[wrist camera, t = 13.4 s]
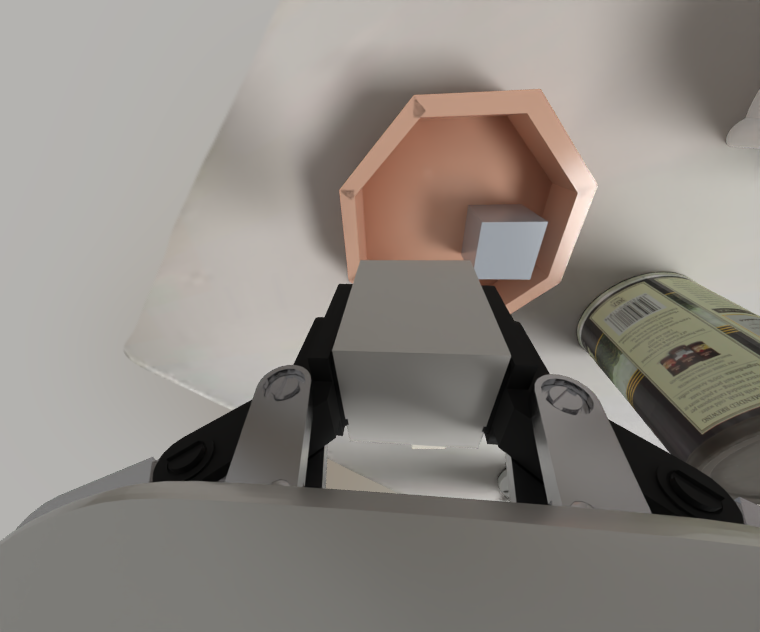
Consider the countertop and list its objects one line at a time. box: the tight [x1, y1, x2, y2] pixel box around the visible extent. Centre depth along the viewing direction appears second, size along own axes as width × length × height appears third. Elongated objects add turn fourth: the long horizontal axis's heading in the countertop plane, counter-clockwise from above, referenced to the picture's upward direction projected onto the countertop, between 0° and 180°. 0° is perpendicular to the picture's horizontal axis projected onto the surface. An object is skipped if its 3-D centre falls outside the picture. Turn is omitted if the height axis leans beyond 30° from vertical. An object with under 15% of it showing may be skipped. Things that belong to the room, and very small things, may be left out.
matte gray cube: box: [461, 204, 548, 280], centre depth 20 cm, size 4×4×5 cm
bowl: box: [339, 89, 598, 314], centre depth 21 cm, size 16×16×4 cm
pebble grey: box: [332, 260, 511, 449], centre depth 9 cm, size 4×4×5 cm
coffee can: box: [577, 272, 760, 504], centre depth 21 cm, size 10×10×14 cm
